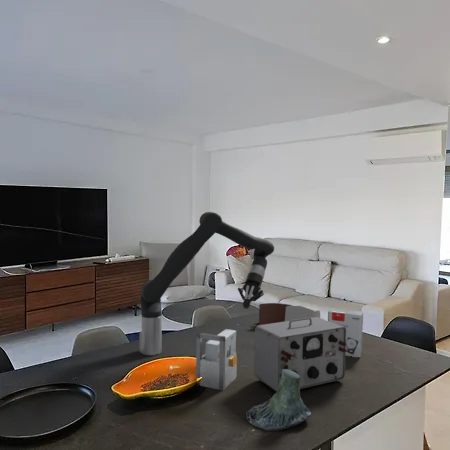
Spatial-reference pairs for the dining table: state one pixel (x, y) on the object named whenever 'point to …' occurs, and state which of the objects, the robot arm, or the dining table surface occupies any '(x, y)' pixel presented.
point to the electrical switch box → (300, 312)
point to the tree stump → (281, 406)
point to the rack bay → (215, 364)
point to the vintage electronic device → (300, 351)
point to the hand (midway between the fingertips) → (245, 307)
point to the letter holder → (272, 313)
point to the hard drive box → (349, 328)
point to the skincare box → (214, 346)
